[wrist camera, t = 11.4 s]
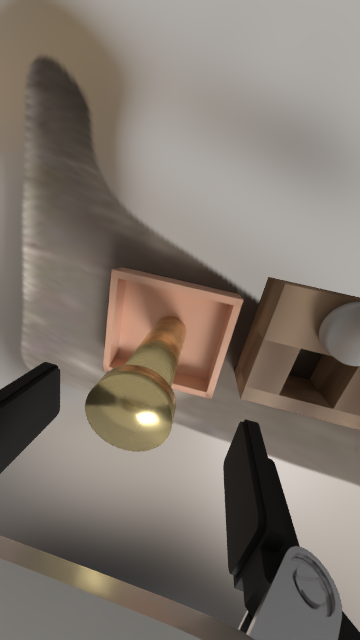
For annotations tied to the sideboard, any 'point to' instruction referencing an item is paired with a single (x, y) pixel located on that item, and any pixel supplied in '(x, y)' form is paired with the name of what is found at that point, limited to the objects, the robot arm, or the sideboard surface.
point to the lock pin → (139, 392)
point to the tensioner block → (310, 334)
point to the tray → (181, 302)
